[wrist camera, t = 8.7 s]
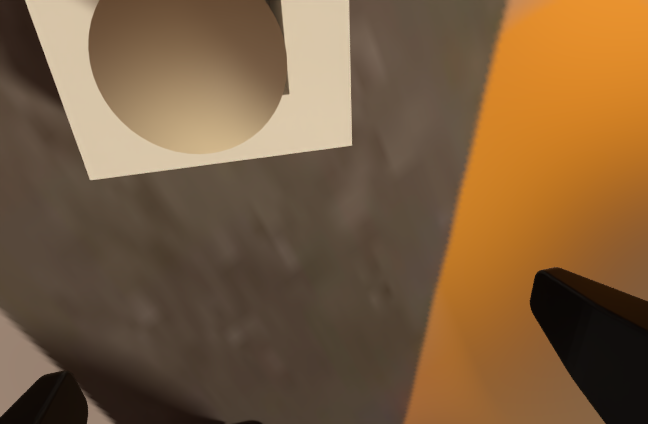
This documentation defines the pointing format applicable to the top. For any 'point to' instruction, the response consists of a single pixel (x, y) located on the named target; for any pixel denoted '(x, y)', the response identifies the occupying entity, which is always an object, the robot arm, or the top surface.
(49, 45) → the socket
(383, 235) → the top surface
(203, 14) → the dowel
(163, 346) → the top surface
